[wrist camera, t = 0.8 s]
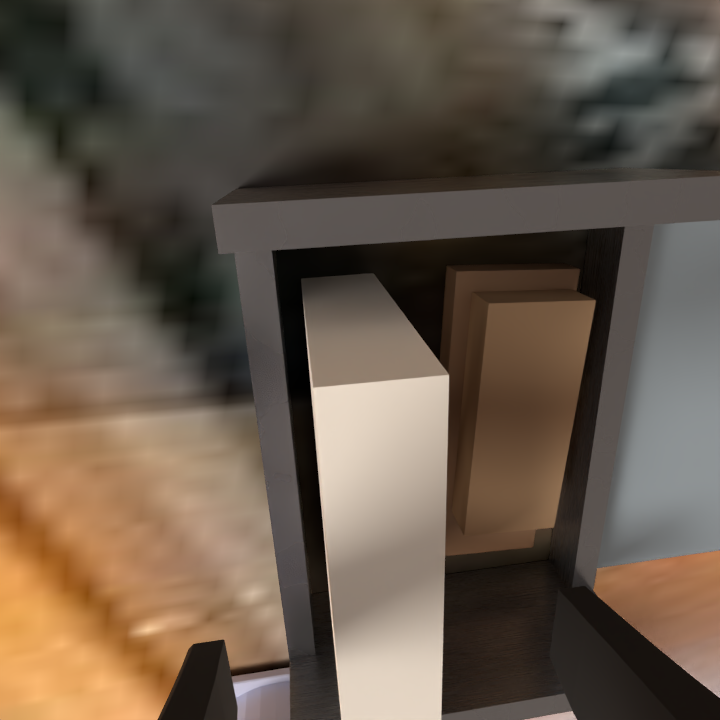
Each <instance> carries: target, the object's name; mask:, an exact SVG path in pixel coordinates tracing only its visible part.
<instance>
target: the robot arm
mask: <svg viewBox="0 0 720 720" xmlns="http://www.w3.org/2000/svg"><path fill="white" fill-rule="evenodd" d="M550 658H551V661H552V663H553V666H554V668H555V671H556V673H557V676H558V678H559V681H560V683H561V686H562V688H563V690H564V693H565V695H566V697H567V700H568V702H569V704H570V707H571V709H572V711H573V713H574V714H575V716H576V718H577V720H720V698H719V697H718V696H716V695H715V694H714V693H712V692H711V691H710V690H709V689H707V688H706V687H705V686H703V685H702V684H701V683H700V682H698V681H697V680H696V679H695V678H693V677H692V676H691V675H690V674H688V673H687V672H686V671H685V670H684V669H682V668H681V667H680V666H679V665H677V664H676V663H675V662H674V661H673V660H671V659H670V658H669V657H668V656H666V655H665V654H664V653H663V652H662V651H660V650H659V649H658V648H657V647H656V646H654V645H653V644H652V643H651V642H650V641H649V640H647V639H646V638H645V637H644V636H643V635H641V634H640V633H639V632H638V631H637V630H636V629H634V628H633V627H632V626H631V625H630V624H629V623H627V622H626V621H625V620H624V619H623V618H622V617H621V616H619V615H618V614H617V613H616V612H615V611H614V610H612V609H611V608H610V607H609V606H608V605H607V604H605V603H604V602H603V601H602V600H601V599H600V598H599V597H597V596H596V595H595V594H594V593H593V592H592V591H590V590H589V589H588V588H587V587H586V586H579V587H573V588H566V589H559V590H558V597H557V605H556V612H555V619H554V627H553V634H552V641H551V649H550ZM158 720H290V667H289V668H283V669H276V670H270V671H264V672H257V673H251V674H245V675H238V676H231V671H230V666H229V661H228V656H227V651H226V646H225V641H224V640H218V641H211V642H204V643H197V644H193V645H192V646H191V647H190V648H189V650H188V652H187V655H186V657H185V660H184V662H183V665H182V667H181V670H180V672H179V674H178V677H177V679H176V681H175V683H174V686H173V688H172V690H171V692H170V695H169V697H168V699H167V701H166V703H165V705H164V707H163V709H162V712H161V714H160V716H159V718H158Z"/></svg>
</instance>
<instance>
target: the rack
mask: <svg viewBox="0 0 720 720" xmlns="http://www.w3.org/2000/svg"><path fill="white" fill-rule="evenodd" d="M211 206H212V213H213V219H214V226H215V233H216V240H217V246H218V253H219V254H227V253H234V254H235V261H236V268H237V276H238V283H239V290H240V298H241V305H242V313H243V320H244V327H245V335H246V342H247V349H248V357H249V364H250V372H251V379H252V386H253V394H254V401H255V408H256V416H257V423H258V430H259V438H260V445H261V453H262V460H263V467H264V475H265V482H266V489H267V497H268V504H269V512H270V519H271V526H272V534H273V541H274V548H275V556H276V563H277V571H278V578H279V585H280V593H281V600H282V607H283V615H284V622H285V629H286V637H287V644H288V652H289V659H290V720H341V712H340V702H339V691H338V681H337V670H336V660H335V650H334V639H333V629H332V618H331V608H330V598H329V591H328V592H321V593H314V594H312V592H311V583H310V573H309V564H308V554H307V545H306V535H305V526H304V516H303V507H302V497H301V488H300V478H299V469H298V460H297V450H296V441H295V431H294V422H293V412H292V403H291V393H290V384H289V374H288V365H287V355H286V346H285V336H284V327H283V317H282V308H281V298H280V289H279V280H278V270H277V261H276V251H275V250H286V249H301V248H315V247H330V246H345V245H360V244H375V243H389V242H404V241H419V240H434V239H448V238H463V237H478V236H493V235H507V234H522V233H537V232H552V231H567V230H581V229H589V231H588V239H587V248H586V256H585V264H584V273H583V281H582V289H581V294H583V295H586V296H588V297H590V298H592V299H594V300H596V303H595V309H594V314H593V320H592V325H591V330H590V336H589V341H588V347H587V352H586V357H585V363H584V368H583V374H582V379H581V384H580V390H579V395H578V401H577V406H576V411H575V417H574V422H573V428H572V433H571V438H570V444H569V449H568V455H567V460H566V465H565V471H564V476H563V482H562V487H561V492H560V498H559V503H558V509H557V514H556V519H555V525H554V528H553V530H552V538H551V546H550V554H549V560H545V561H538V562H531V563H524V564H517V565H510V566H503V567H496V568H489V569H482V570H475V571H468V572H461V573H454V574H447V575H445V578H444V622H443V666H442V710H441V720H524V719H529V718H535V717H540V716H546V715H552V714H557V713H563V712H569V711H572V709H571V707H570V704H569V702H568V700H567V697H566V695H565V693H564V690H563V688H562V686H561V683H560V681H559V678H558V676H557V673H556V671H555V668H554V666H553V663H552V661H551V658H550V649H551V641H552V634H553V627H554V619H555V612H556V605H557V597H558V590H559V589H566V588H573V587H579V586H586V587H587V588H588V589H589V590H590V591H592V592H593V593H594V591H593V588H594V582H595V576H596V570H597V564H598V558H599V552H600V546H601V540H602V534H603V528H604V522H605V516H606V510H607V504H608V498H609V492H610V486H611V480H612V474H613V468H614V462H615V456H616V451H617V445H618V439H619V433H620V427H621V421H622V415H623V409H624V403H625V397H626V391H627V385H628V379H629V373H630V367H631V361H632V355H633V349H634V343H635V337H636V331H637V325H638V319H639V313H640V307H641V301H642V295H643V289H644V283H645V277H646V271H647V265H648V259H649V253H650V247H651V241H652V235H653V229H654V225H655V224H670V223H685V222H700V221H714V220H720V171H714V170H681V169H648V168H609V169H591V170H572V171H554V172H535V173H517V174H498V175H480V176H461V177H443V178H424V179H406V180H387V181H369V182H350V183H332V184H313V185H295V186H276V187H258V188H239V189H235V190H234V191H232V192H231V193H229V194H228V195H226V196H225V197H223V198H221V199H220V200H218V201H217V202H215V203H214V204H212V205H211ZM594 594H595V593H594ZM595 595H596V594H595ZM596 596H597V595H596Z"/></svg>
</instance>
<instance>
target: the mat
mask: <svg viewBox="0 0 720 720" xmlns="http://www.w3.org/2000/svg"><path fill="white" fill-rule="evenodd" d="M718 550H720V220H714V221H700V222H685V223H670V224H655V225H654V229H653V235H652V241H651V247H650V253H649V259H648V265H647V271H646V277H645V283H644V289H643V295H642V301H641V307H640V313H639V319H638V325H637V331H636V337H635V343H634V349H633V355H632V361H631V367H630V373H629V379H628V385H627V391H626V397H625V403H624V409H623V415H622V421H621V427H620V433H619V439H618V445H617V451H616V456H615V462H614V468H613V474H612V480H611V486H610V492H609V498H608V504H607V510H606V516H605V522H604V528H603V534H602V540H601V546H600V552H599V558H598V564H597V568H601V567H608V566H615V565H622V564H629V563H636V562H642V561H649V560H656V559H663V558H670V557H677V556H684V555H690V554H697V553H704V552H711V551H718Z"/></svg>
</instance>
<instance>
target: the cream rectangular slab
mask: <svg viewBox="0 0 720 720" xmlns="http://www.w3.org/2000/svg"><path fill="white" fill-rule="evenodd" d="M301 286H302V297H303V308H304V320H305V331H306V342H307V353H308V365H309V376H310V387H311V398H312V410H313V421H314V432H315V443H316V455H317V466H318V477H319V488H320V500H321V511H322V522H323V533H324V545H325V556H326V566H327V577H328V587H329V598H330V608H331V618H332V629H333V639H334V650H335V660H336V670H337V681H338V691H339V702H340V712H341V720H441V710H442V666H443V622H444V578H445V535H446V491H447V447H448V403H449V374H448V373H447V371H446V370H445V369H444V367H443V366H442V365H441V363H440V362H439V361H438V359H437V358H436V356H435V355H434V354H433V352H432V351H431V350H430V348H429V347H428V346H427V344H426V343H425V342H424V340H423V339H422V338H421V336H420V335H419V334H418V332H417V331H416V330H415V328H414V327H413V326H412V324H411V323H410V322H409V320H408V319H407V318H406V316H405V315H404V314H403V312H402V311H401V310H400V308H399V307H398V306H397V304H396V303H395V301H394V300H393V299H392V297H391V296H390V295H389V293H388V292H387V291H386V289H385V288H384V287H383V285H382V284H381V283H380V281H379V280H378V279H377V277H376V276H375V275H374V273H369V274H355V275H342V276H328V277H315V278H302V279H301Z"/></svg>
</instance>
